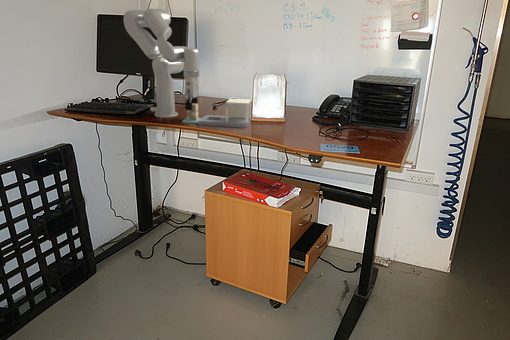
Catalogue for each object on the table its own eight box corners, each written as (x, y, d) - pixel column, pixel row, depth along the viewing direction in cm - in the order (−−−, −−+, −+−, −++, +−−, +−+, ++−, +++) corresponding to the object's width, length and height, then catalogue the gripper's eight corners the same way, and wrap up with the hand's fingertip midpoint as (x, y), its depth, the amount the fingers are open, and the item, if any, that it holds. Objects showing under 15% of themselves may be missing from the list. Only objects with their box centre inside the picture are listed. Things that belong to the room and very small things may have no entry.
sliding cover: (225, 121, 190) (225, 102, 187) (230, 117, 200) (230, 98, 196) (247, 122, 189) (247, 103, 185) (250, 118, 198) (251, 99, 195)
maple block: (187, 120, 196) (187, 104, 193) (190, 118, 200) (189, 103, 197) (196, 120, 195) (195, 105, 193) (198, 118, 200) (198, 103, 197)
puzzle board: (198, 124, 191) (198, 121, 190) (205, 118, 204) (205, 114, 203) (245, 127, 188) (245, 123, 187) (250, 121, 201) (250, 117, 200)
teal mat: (182, 122, 194) (181, 121, 194) (187, 118, 203) (187, 117, 202) (199, 123, 193) (199, 122, 193) (203, 119, 202) (203, 118, 201)
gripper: (193, 77, 181) (193, 112, 188) (203, 72, 197) (203, 105, 204) (178, 75, 182) (179, 111, 188) (189, 71, 198) (189, 103, 204)
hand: (191, 107), depth 196 cm, fingers open, 9 cm apart
